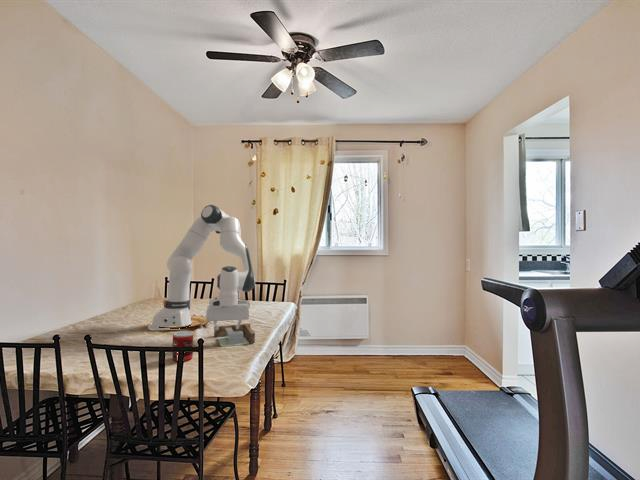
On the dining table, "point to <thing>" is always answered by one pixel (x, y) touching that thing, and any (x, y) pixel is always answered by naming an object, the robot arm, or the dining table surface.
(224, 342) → the pad
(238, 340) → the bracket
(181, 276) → the robot arm
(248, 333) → the arena
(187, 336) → the canned food
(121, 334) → the dining table surface
